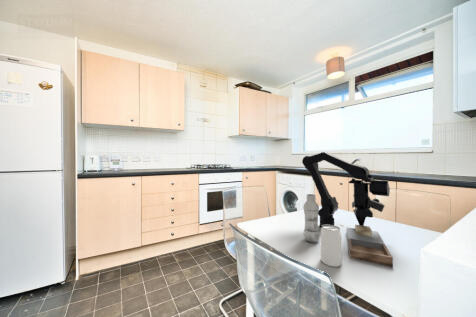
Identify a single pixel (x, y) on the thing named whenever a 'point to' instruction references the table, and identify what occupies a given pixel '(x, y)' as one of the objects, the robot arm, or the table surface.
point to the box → (371, 254)
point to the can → (331, 245)
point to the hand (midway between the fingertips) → (361, 227)
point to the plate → (365, 239)
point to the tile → (363, 230)
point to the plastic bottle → (311, 219)
